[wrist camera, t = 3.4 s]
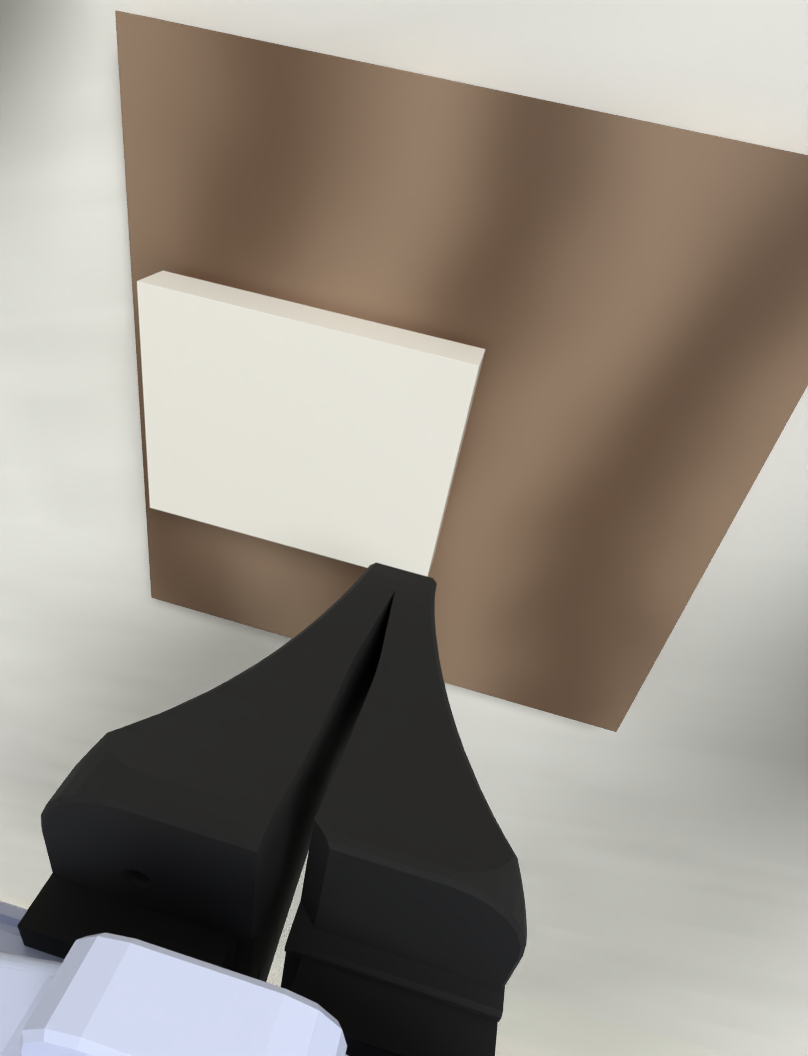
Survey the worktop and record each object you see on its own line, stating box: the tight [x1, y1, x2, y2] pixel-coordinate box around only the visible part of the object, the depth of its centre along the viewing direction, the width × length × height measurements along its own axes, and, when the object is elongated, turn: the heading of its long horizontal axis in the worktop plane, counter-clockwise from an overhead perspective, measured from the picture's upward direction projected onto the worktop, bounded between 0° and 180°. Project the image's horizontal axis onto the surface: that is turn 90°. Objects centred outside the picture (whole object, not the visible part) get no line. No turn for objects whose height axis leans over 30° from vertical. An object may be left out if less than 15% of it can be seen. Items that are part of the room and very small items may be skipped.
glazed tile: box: [137, 271, 485, 577], centre depth 19 cm, size 2×7×9 cm
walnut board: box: [115, 11, 808, 732], centre depth 20 cm, size 18×18×1 cm
